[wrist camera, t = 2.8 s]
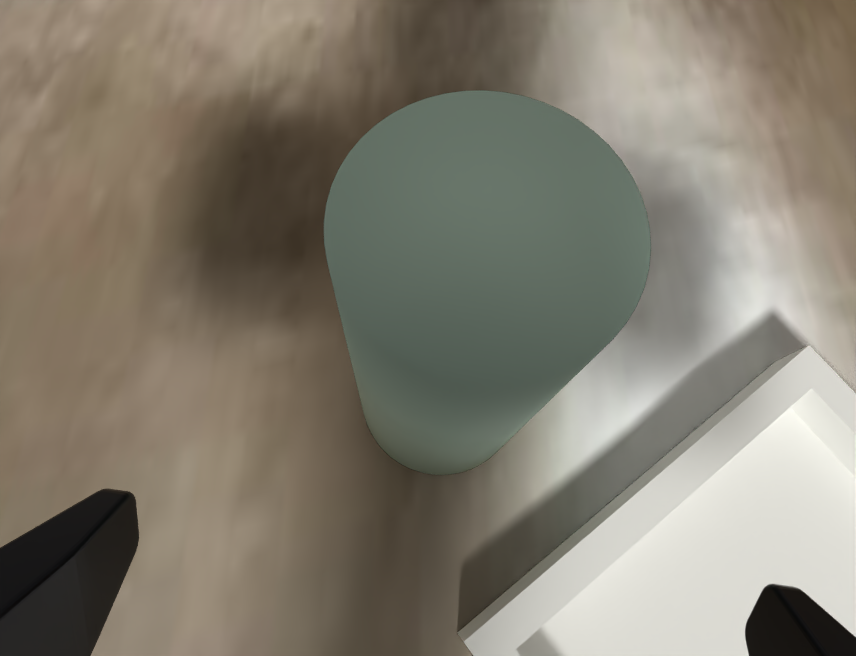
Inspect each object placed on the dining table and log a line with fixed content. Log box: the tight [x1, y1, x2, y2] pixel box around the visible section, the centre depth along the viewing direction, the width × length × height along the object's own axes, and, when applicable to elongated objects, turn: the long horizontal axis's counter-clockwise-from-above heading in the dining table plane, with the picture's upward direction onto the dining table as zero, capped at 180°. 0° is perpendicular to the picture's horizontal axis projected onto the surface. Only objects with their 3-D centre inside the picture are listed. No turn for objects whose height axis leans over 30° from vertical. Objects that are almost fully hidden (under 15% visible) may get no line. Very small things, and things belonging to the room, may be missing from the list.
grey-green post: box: [324, 90, 651, 475], centre depth 16 cm, size 5×5×12 cm
